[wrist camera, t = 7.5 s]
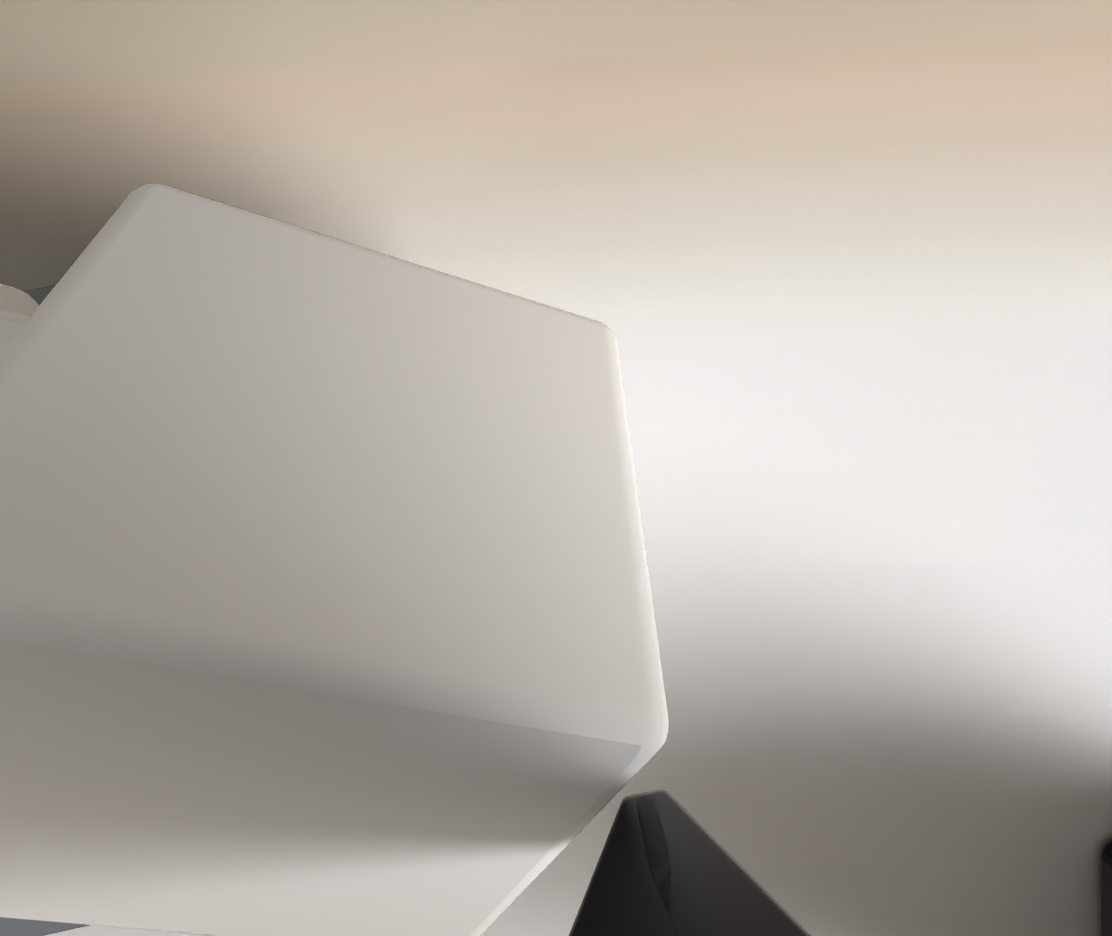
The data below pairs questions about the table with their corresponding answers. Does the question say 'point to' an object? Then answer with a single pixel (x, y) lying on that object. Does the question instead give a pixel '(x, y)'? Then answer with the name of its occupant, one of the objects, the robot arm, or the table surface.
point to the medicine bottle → (307, 585)
